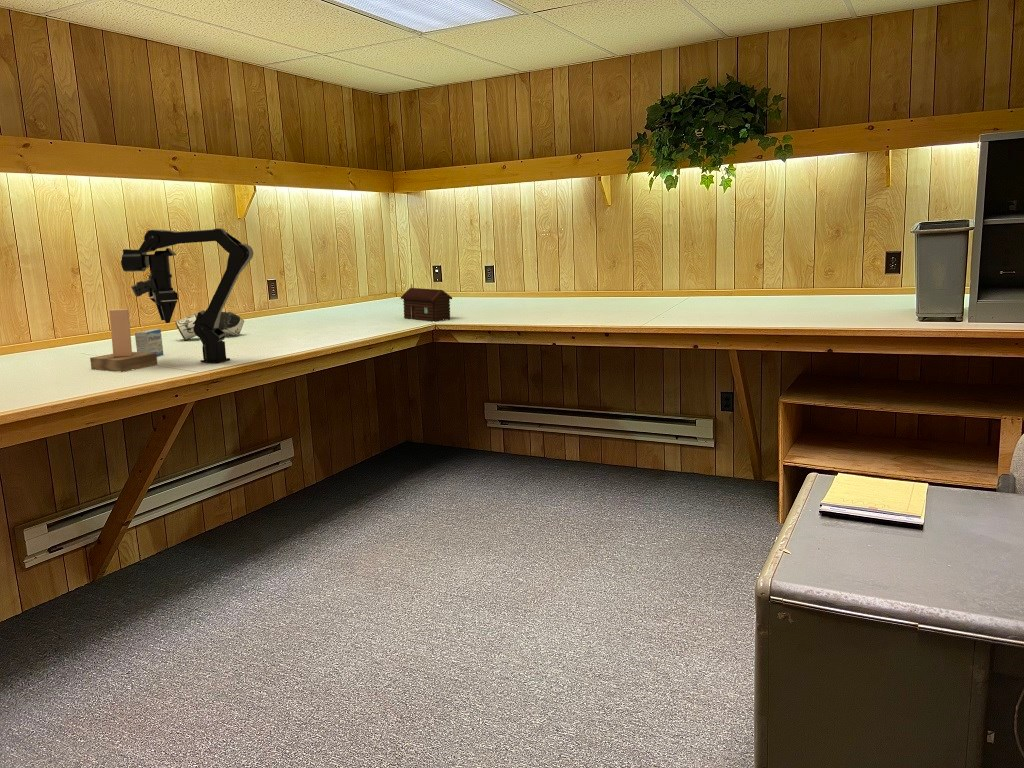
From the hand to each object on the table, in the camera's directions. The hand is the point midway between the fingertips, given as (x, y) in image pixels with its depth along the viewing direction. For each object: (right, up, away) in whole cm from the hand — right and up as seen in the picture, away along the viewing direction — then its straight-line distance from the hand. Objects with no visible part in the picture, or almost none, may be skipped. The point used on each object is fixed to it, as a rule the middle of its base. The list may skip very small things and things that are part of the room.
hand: (165, 321), depth 245 cm
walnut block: (-11, -15, -3) cm, 19 cm away
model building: (+70, +9, +104) cm, 126 cm away
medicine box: (-12, -11, +15) cm, 22 cm away
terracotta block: (-11, -11, -4) cm, 16 cm away
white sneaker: (-8, -2, +56) cm, 56 cm away
